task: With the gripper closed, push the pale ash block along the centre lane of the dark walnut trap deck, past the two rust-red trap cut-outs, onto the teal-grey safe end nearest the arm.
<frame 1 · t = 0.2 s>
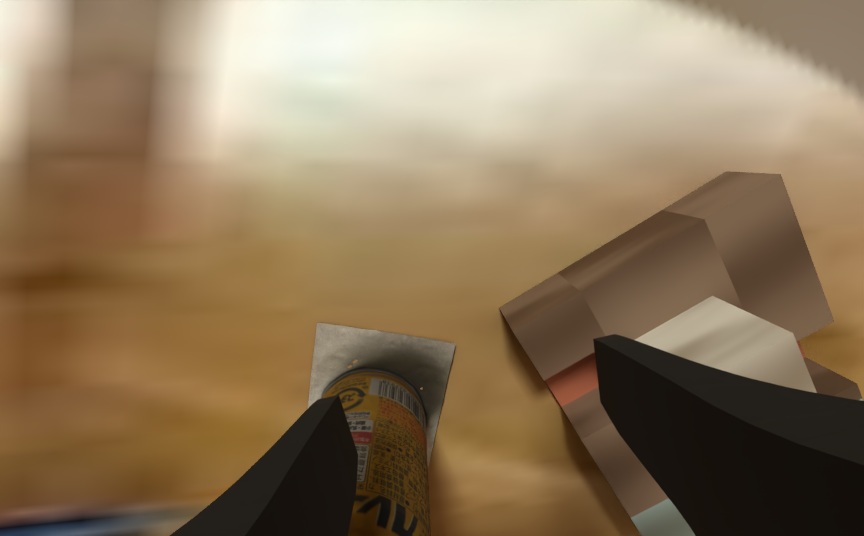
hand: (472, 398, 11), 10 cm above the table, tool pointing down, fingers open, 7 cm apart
trap deck: (676, 372, 23), on the table
block: (688, 351, 19), point 3 cm above the table, touching trap deck
condiment: (376, 398, 23), on the table
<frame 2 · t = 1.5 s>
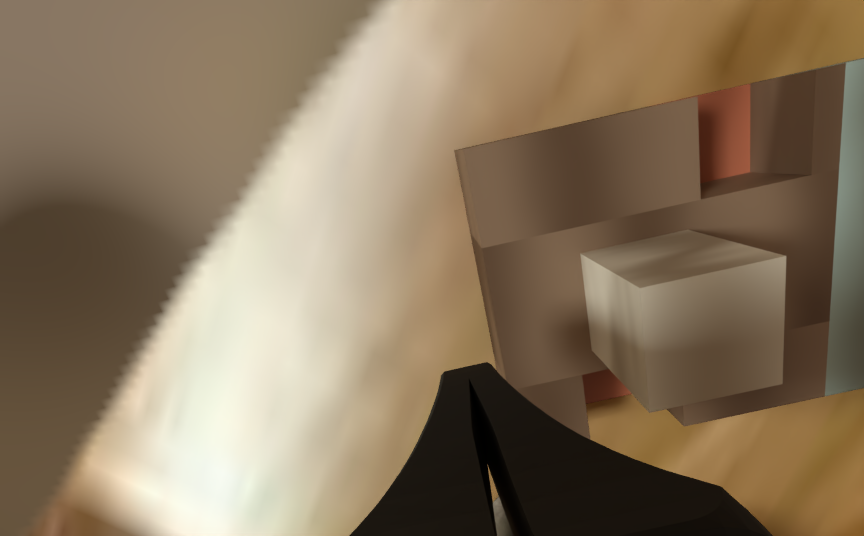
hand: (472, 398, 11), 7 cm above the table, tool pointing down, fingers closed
trap deck: (678, 253, 18), on the table
block: (638, 292, 15), point 3 cm above the table, touching trap deck
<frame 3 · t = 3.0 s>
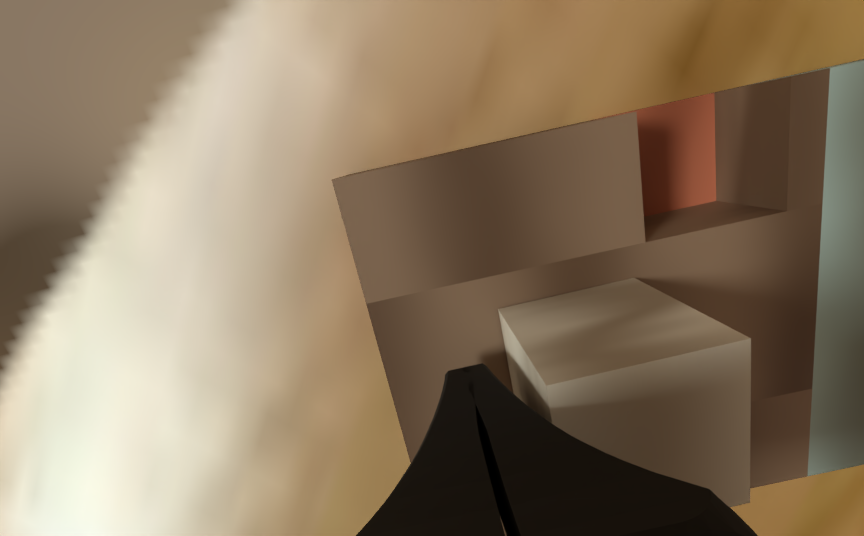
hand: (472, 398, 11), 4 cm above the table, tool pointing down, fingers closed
trap deck: (632, 297, 15), on the table
block: (574, 355, 12), point 3 cm above the table, touching gripper
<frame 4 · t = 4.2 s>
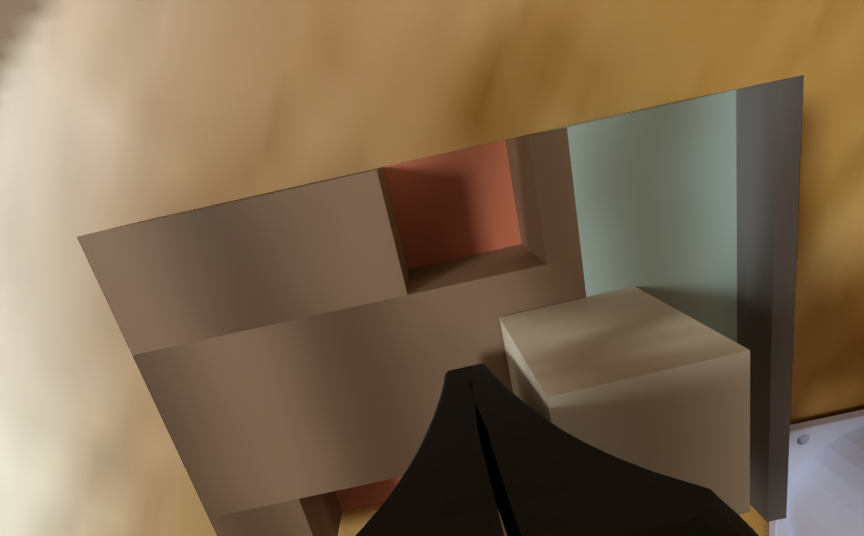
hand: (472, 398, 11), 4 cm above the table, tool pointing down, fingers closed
trap deck: (452, 336, 15), on the table
block: (575, 362, 12), point 3 cm above the table, touching gripper
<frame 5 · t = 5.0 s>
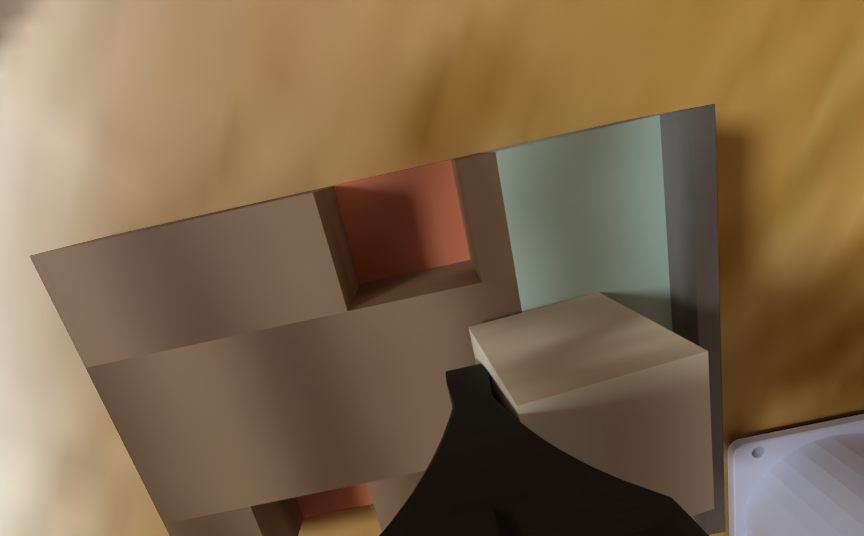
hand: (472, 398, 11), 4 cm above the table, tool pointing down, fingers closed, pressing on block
trap deck: (407, 348, 15), on the table
block: (544, 369, 12), point 3 cm above the table, tilted 7°, touching gripper, trap deck
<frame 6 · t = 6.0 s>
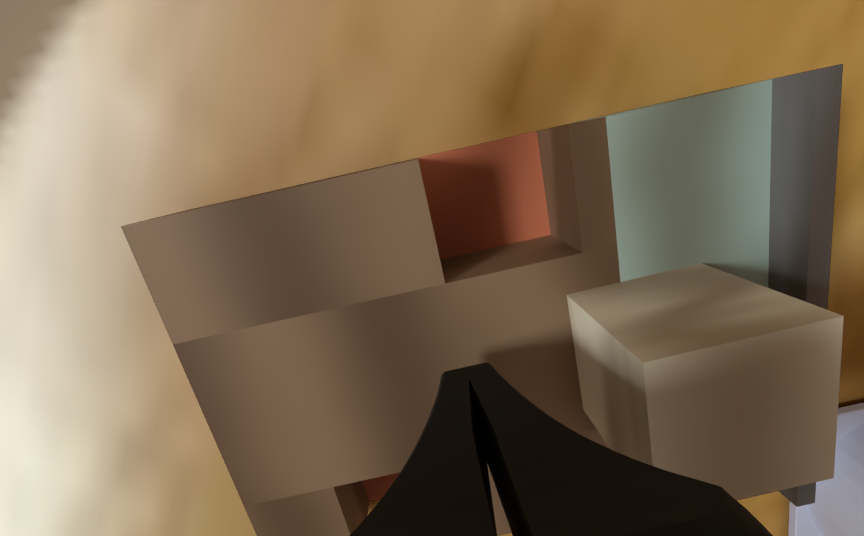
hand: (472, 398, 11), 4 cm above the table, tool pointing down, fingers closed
trap deck: (480, 327, 15), on the table
block: (639, 339, 12), point 3 cm above the table, touching trap deck
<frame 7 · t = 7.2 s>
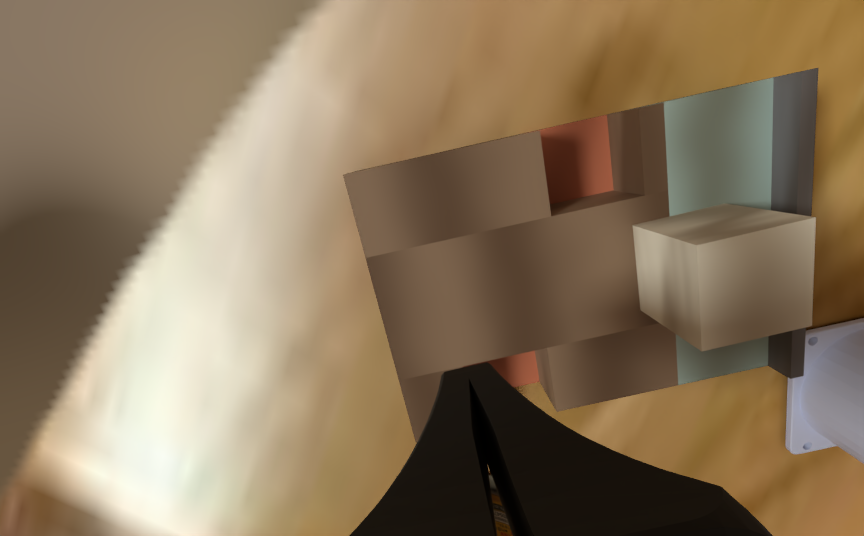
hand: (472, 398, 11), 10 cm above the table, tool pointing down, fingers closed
trap deck: (558, 260, 21), on the table
block: (681, 258, 18), point 3 cm above the table, touching trap deck
condiment: (461, 514, 25), on the table
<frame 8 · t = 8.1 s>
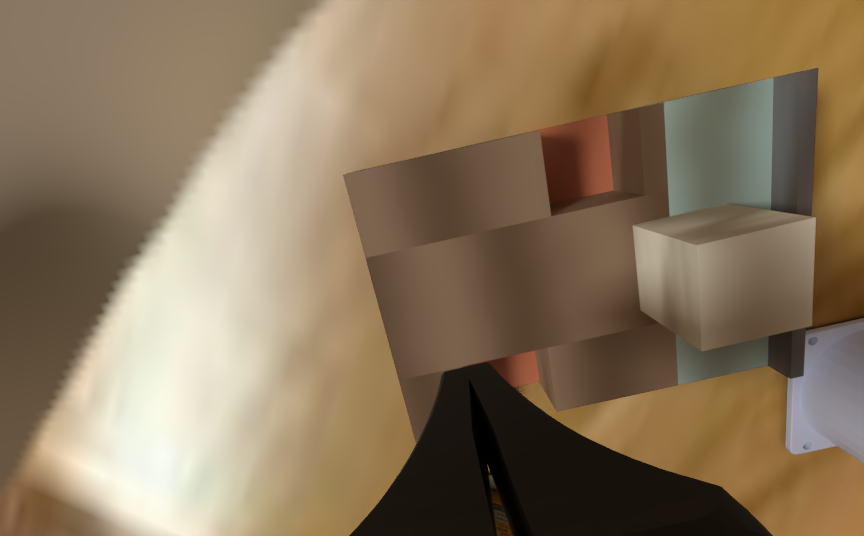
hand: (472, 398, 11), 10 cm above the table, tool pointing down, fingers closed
trap deck: (558, 260, 21), on the table
block: (681, 258, 18), point 3 cm above the table, touching trap deck
condiment: (461, 514, 25), on the table
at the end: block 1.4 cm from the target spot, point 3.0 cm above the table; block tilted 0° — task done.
